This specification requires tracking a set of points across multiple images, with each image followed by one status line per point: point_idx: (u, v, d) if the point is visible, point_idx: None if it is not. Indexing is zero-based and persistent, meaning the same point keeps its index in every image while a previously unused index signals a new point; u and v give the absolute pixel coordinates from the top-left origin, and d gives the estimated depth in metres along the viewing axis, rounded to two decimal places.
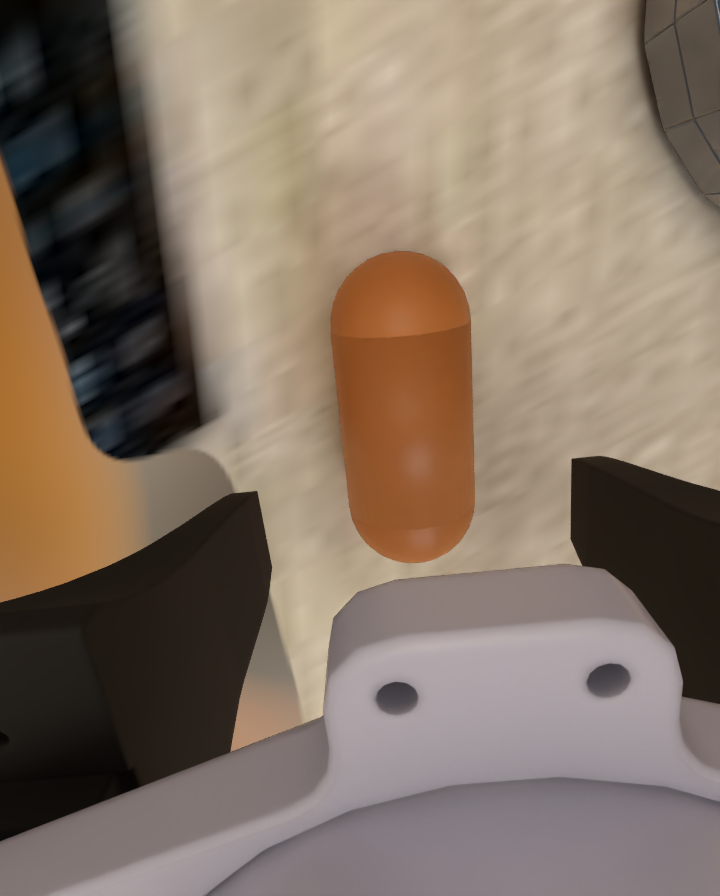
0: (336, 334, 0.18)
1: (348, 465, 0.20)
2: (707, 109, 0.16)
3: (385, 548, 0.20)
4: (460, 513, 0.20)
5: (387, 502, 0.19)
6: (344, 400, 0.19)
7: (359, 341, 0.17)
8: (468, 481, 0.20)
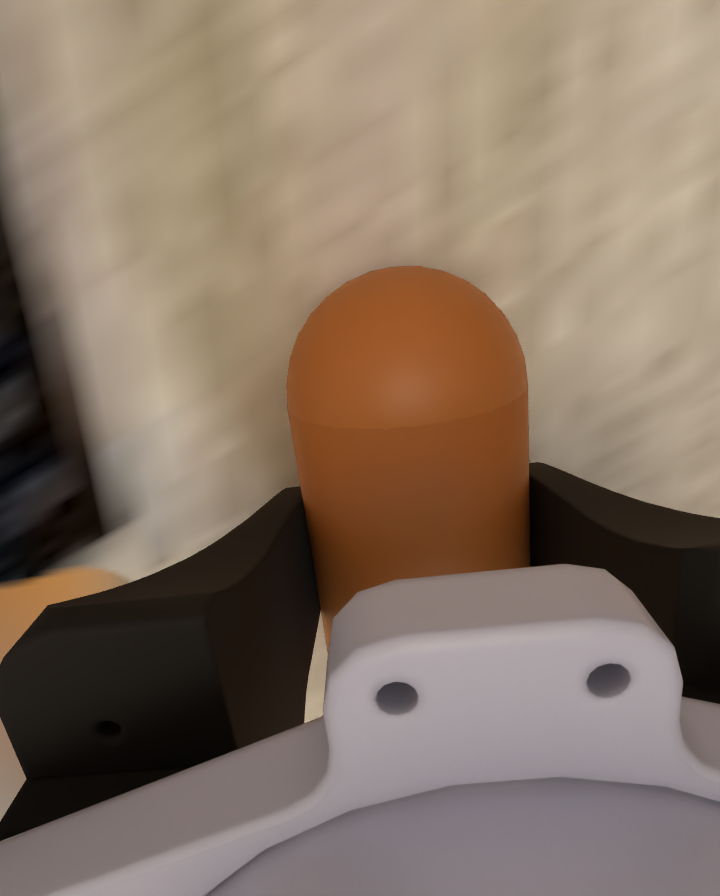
0: (294, 414, 0.10)
1: (325, 620, 0.12)
2: None
3: None
4: None
5: None
6: (314, 524, 0.11)
7: (333, 432, 0.10)
8: None
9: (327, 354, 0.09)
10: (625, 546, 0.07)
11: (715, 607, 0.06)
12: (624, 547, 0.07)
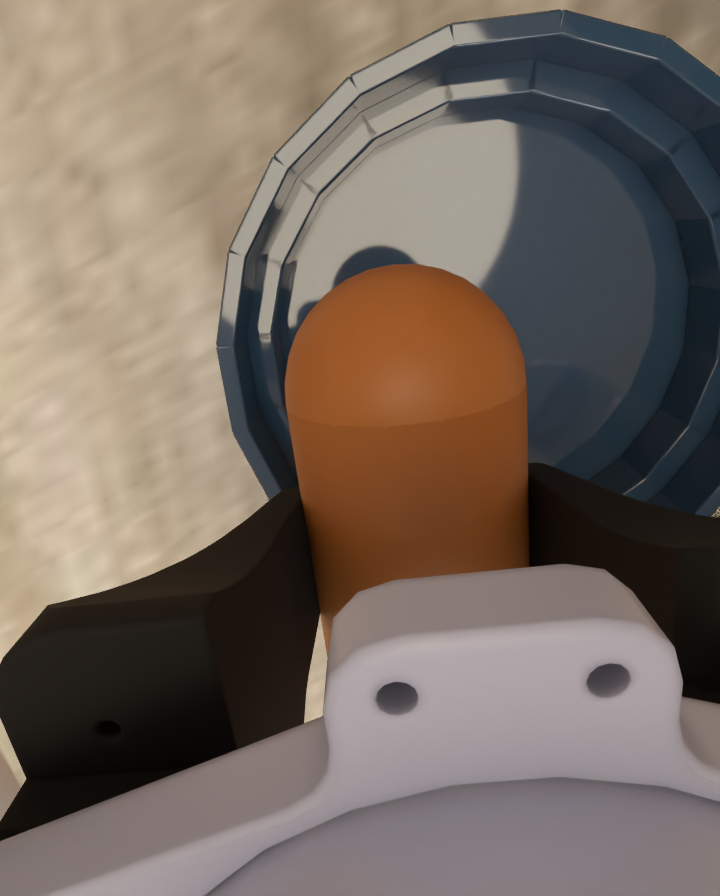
0: (293, 412, 0.10)
1: (324, 619, 0.12)
2: None
3: None
4: None
5: None
6: (312, 522, 0.11)
7: (332, 431, 0.10)
8: None
9: (325, 352, 0.09)
10: (625, 545, 0.07)
11: (715, 607, 0.06)
12: (624, 547, 0.07)
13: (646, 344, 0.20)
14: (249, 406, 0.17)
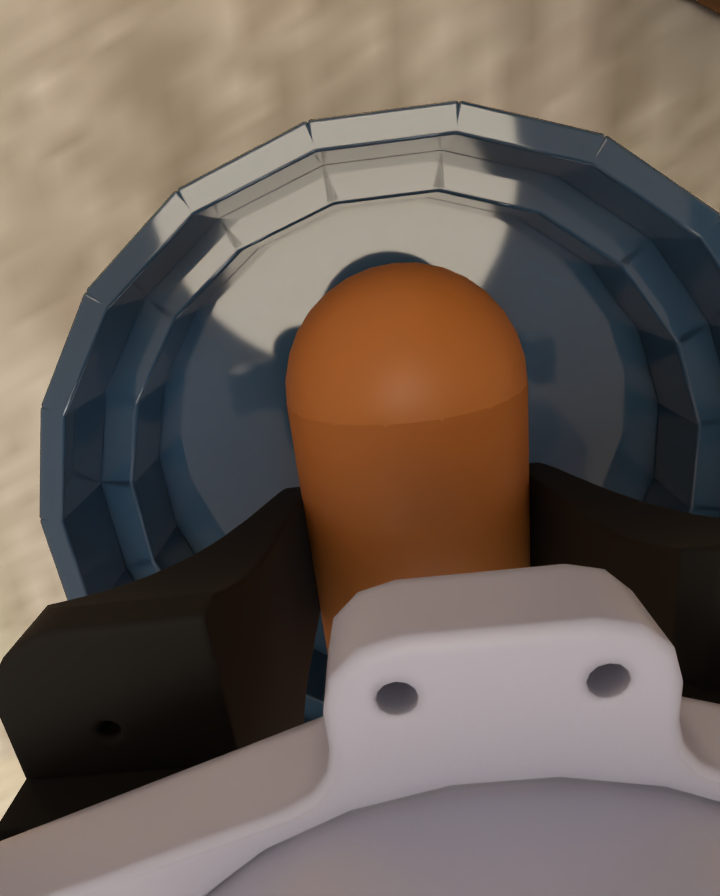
0: (293, 411, 0.10)
1: (325, 618, 0.12)
2: None
3: None
4: None
5: None
6: (313, 521, 0.11)
7: (332, 429, 0.10)
8: None
9: (326, 350, 0.09)
10: (625, 546, 0.07)
11: (715, 608, 0.06)
12: (624, 547, 0.07)
13: (608, 471, 0.16)
14: (98, 580, 0.13)
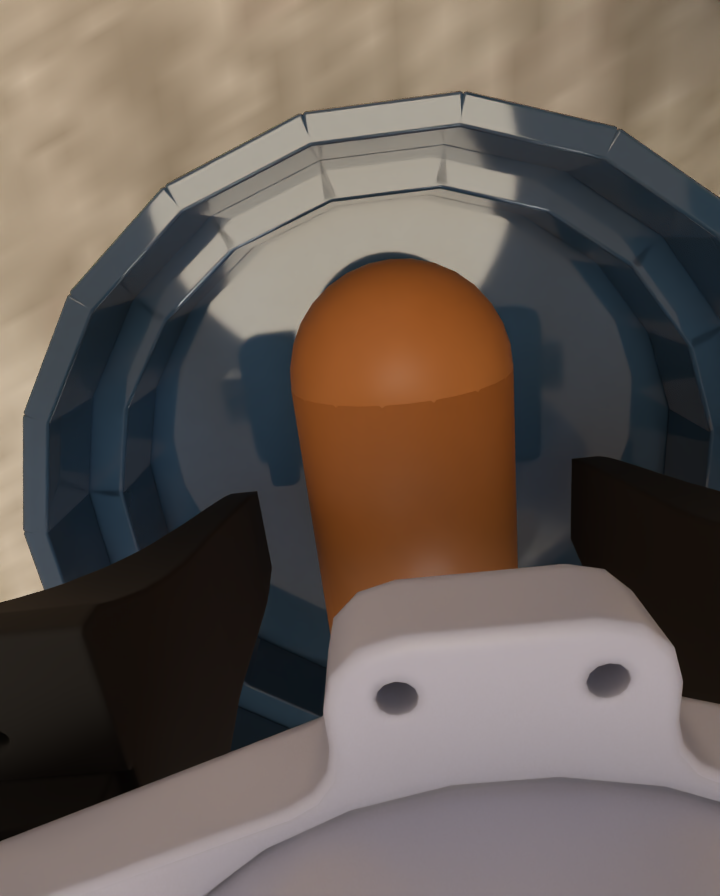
0: (297, 395, 0.11)
1: (326, 589, 0.13)
2: None
3: None
4: None
5: None
6: (316, 497, 0.12)
7: (334, 410, 0.10)
8: None
9: (328, 338, 0.10)
10: None
11: None
12: None
13: None
14: None
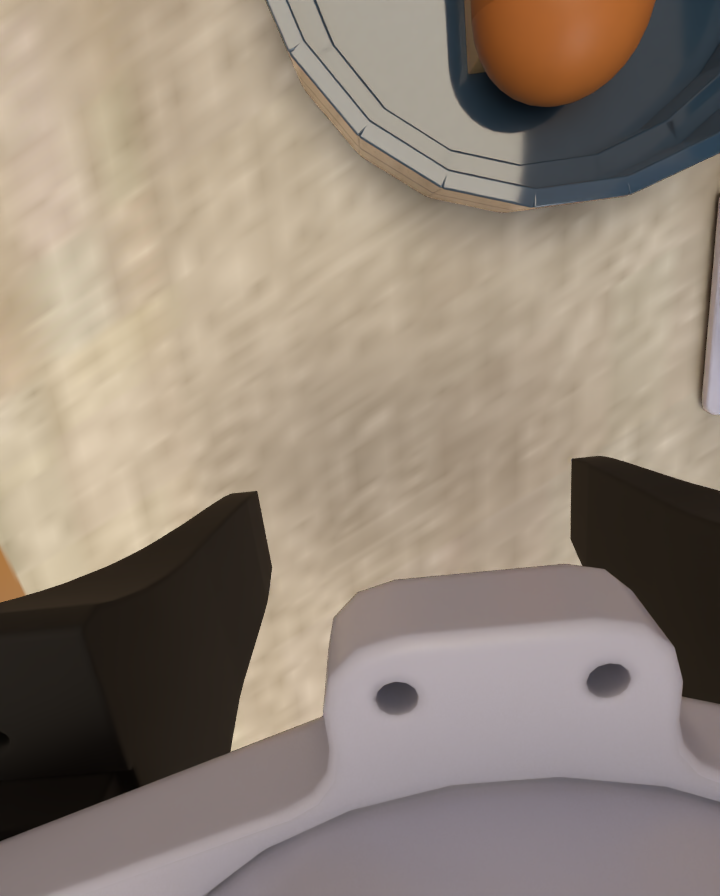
0: None
1: None
2: None
3: (538, 32, 0.14)
4: None
5: None
6: None
7: None
8: None
9: None
10: None
11: None
12: None
13: None
14: None
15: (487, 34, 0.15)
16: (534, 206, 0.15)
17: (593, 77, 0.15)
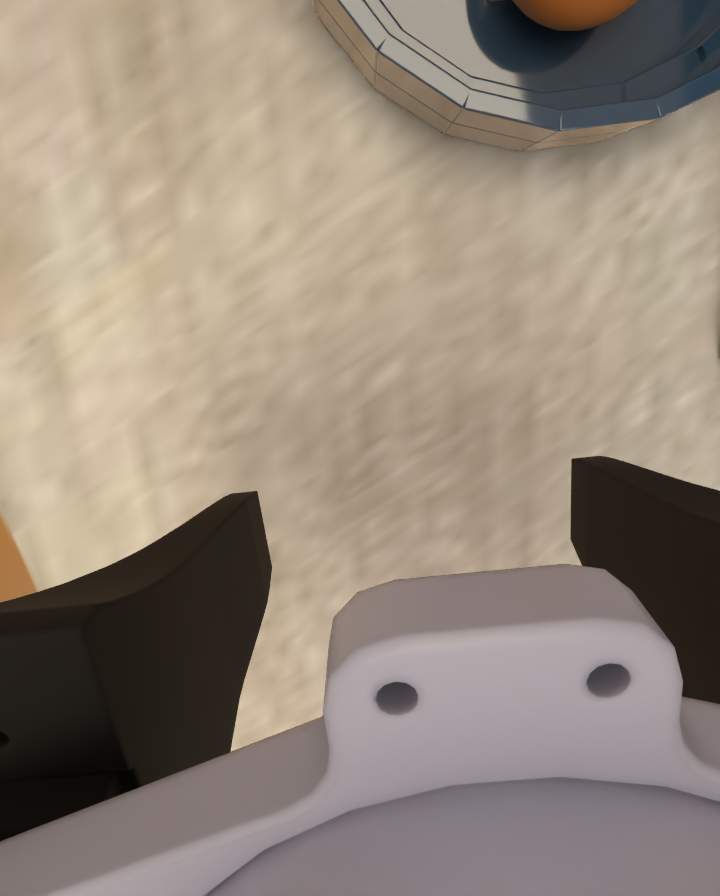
0: None
1: None
2: None
3: None
4: None
5: None
6: None
7: None
8: None
9: None
10: None
11: None
12: None
13: None
14: None
15: None
16: (559, 129, 0.15)
17: None
